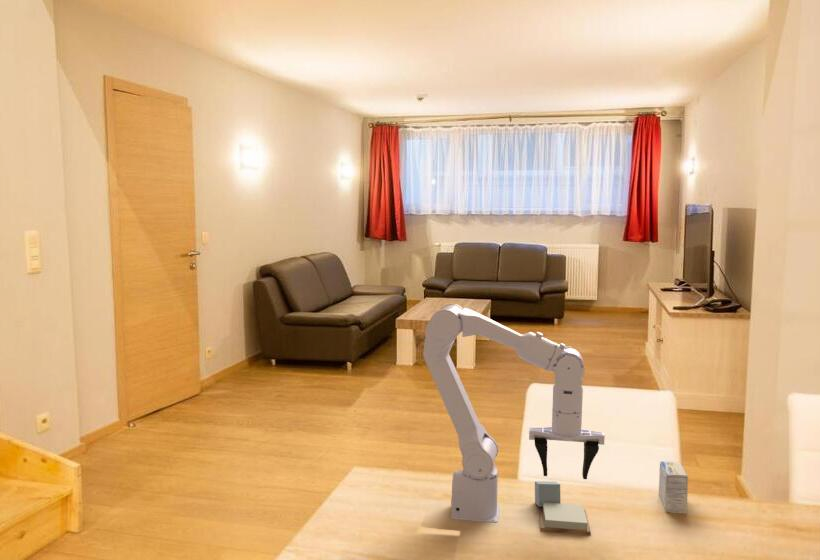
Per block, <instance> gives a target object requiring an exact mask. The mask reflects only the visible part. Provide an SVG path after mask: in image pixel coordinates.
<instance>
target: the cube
mask: <svg viewBox="0 0 820 560" xmlns="http://www.w3.org/2000/svg"><path fill="white" fill-rule="evenodd" d="M543 502H548V503H561V484H560V483H559V482H557V481H544V480H543V481H541V480H539V481H538V480H535V481H534V503H535V504H536V505H537V506H538V508H539V507H543Z"/></svg>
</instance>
